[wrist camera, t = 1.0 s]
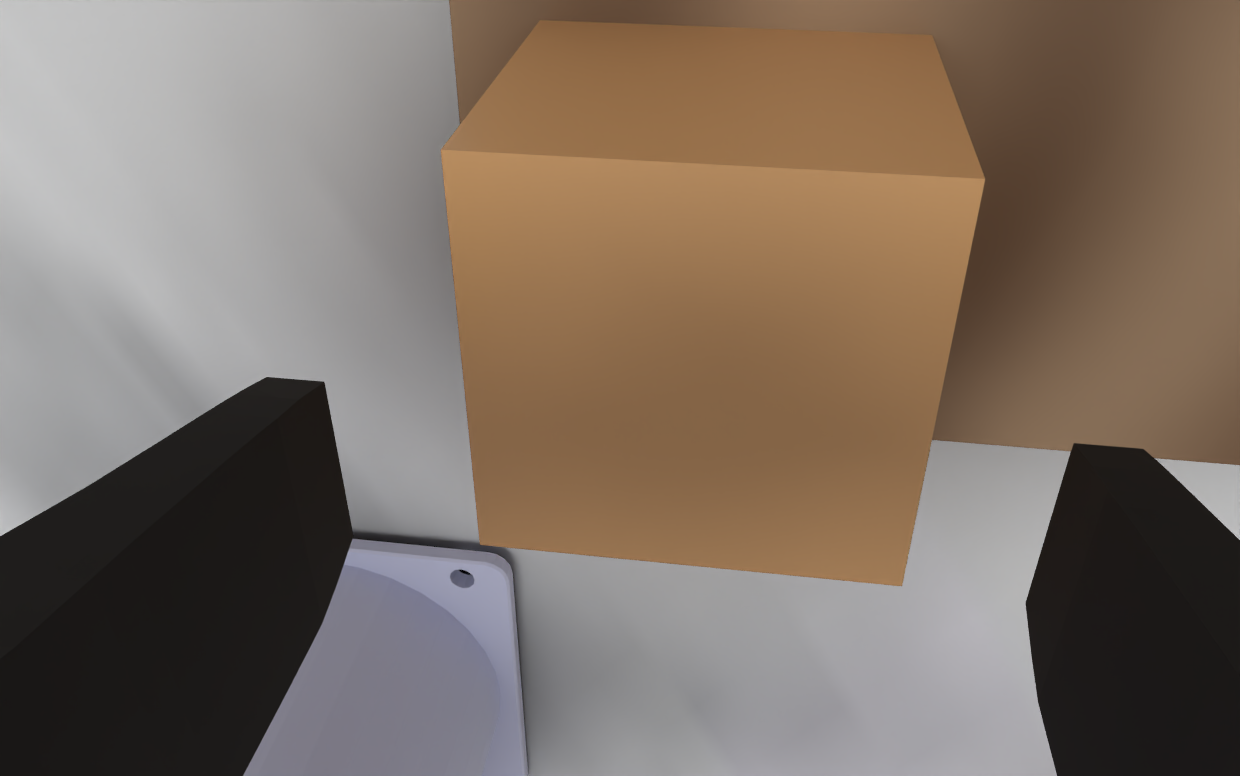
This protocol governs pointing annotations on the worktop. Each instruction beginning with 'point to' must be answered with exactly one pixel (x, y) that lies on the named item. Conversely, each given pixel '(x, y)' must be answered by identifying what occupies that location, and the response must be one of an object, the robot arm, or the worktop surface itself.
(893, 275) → the tan shipping carton
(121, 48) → the worktop surface
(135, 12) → the worktop surface
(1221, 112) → the board
